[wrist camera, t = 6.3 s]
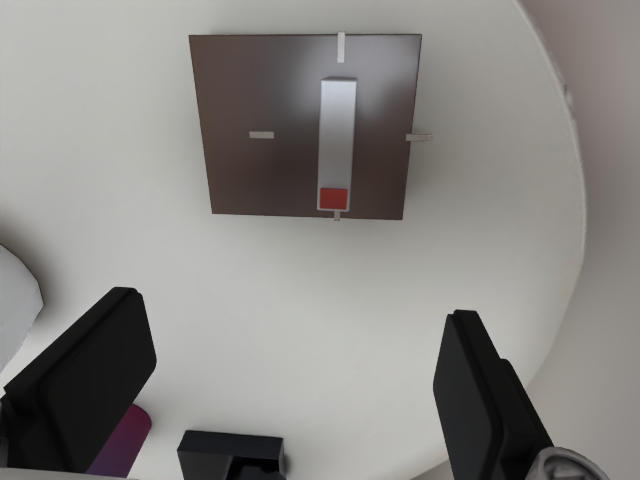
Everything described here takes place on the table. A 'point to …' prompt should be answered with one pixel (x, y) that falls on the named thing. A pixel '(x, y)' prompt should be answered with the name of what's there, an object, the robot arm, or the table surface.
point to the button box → (230, 457)
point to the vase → (16, 304)
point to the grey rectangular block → (336, 142)
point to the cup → (122, 445)
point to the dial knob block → (303, 119)
